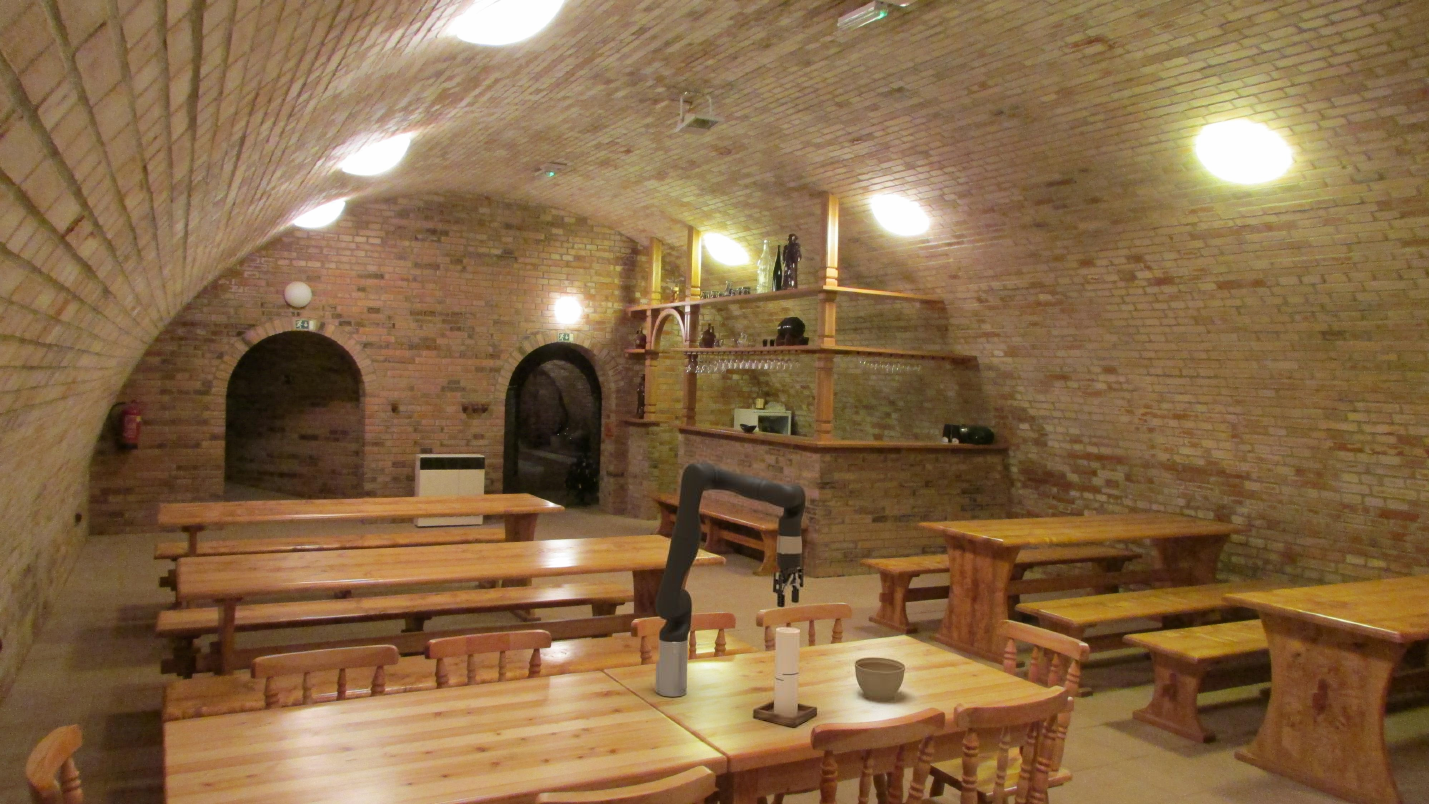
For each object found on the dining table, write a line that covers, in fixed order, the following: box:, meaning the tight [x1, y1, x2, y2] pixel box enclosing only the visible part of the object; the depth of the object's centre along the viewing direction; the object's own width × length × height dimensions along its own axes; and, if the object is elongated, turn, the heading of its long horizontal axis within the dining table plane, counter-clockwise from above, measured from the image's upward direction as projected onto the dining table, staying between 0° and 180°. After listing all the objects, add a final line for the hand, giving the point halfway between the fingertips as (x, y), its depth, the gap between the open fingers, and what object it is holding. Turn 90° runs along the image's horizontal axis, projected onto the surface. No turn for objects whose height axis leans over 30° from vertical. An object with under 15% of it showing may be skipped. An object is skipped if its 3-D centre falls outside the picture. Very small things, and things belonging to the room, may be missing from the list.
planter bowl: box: [854, 656, 906, 702], centre depth 312 cm, size 16×16×11 cm
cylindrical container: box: [773, 626, 801, 717], centre depth 291 cm, size 7×7×25 cm
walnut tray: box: [752, 699, 818, 728], centre depth 290 cm, size 14×14×2 cm
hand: (788, 604), depth 290 cm, fingers open, 8 cm apart
